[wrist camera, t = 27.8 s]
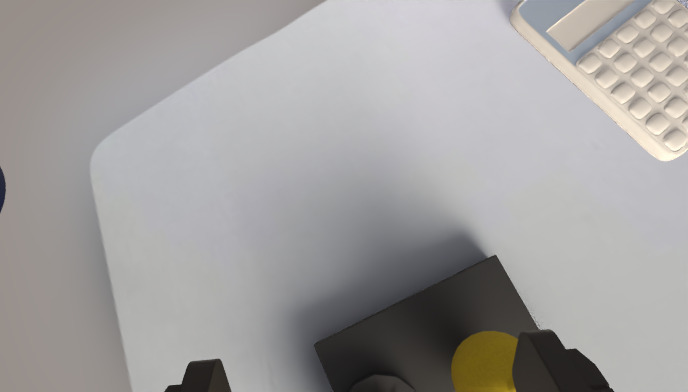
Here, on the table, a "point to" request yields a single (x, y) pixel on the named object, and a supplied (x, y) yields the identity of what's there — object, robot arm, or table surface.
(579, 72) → the calculator
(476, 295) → the scale
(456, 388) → the lemon
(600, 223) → the table surface
